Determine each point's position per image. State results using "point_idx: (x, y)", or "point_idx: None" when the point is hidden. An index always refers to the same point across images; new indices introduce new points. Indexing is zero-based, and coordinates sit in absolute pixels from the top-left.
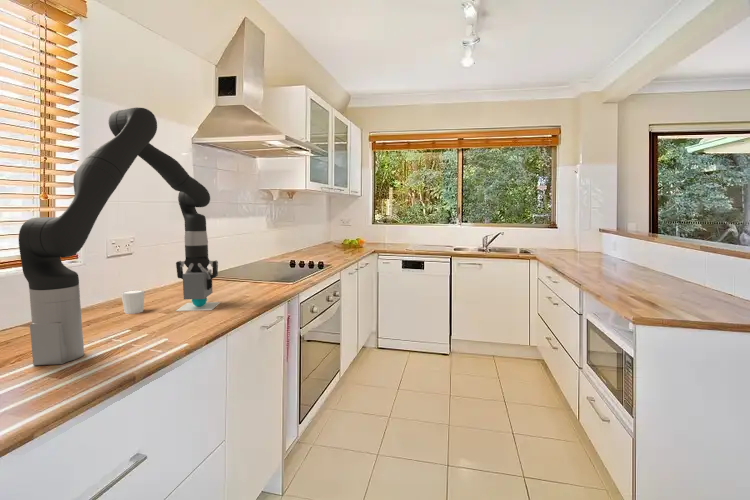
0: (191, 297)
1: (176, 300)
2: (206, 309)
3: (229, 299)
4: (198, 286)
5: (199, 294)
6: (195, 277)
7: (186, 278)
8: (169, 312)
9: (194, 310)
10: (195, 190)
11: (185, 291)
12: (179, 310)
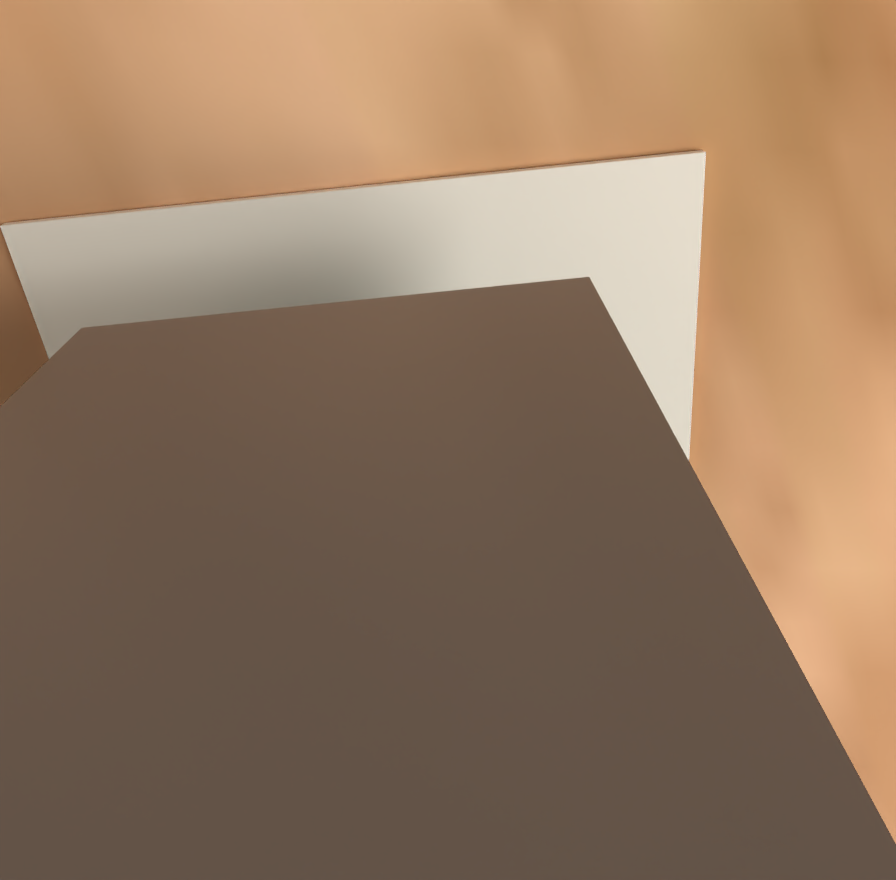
0: (390, 313)
1: (880, 805)
2: (119, 240)
3: None
4: (79, 498)
5: (153, 365)
6: (11, 830)
7: (590, 739)
8: (806, 48)
9: (338, 189)
10: None
11: (567, 373)
12: (634, 166)
